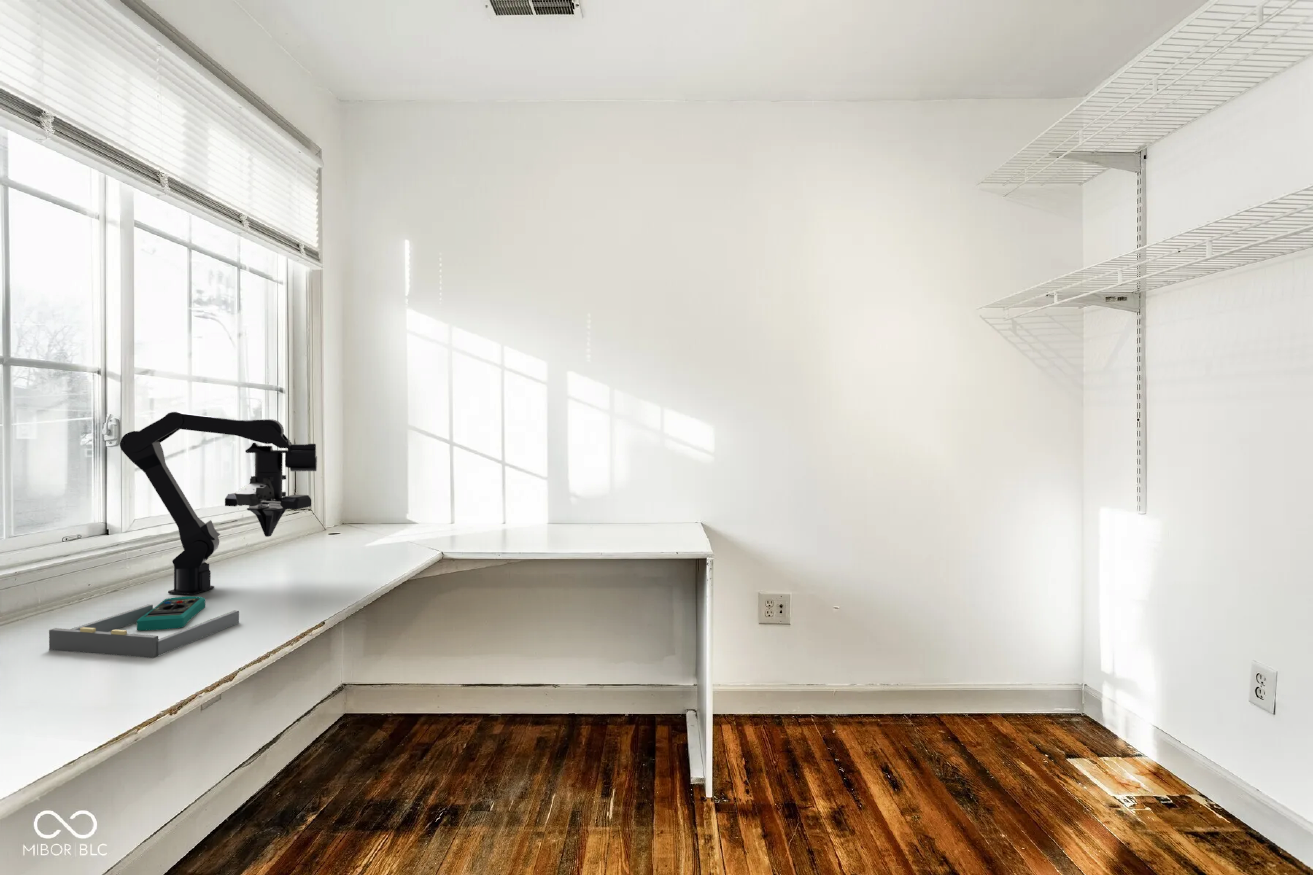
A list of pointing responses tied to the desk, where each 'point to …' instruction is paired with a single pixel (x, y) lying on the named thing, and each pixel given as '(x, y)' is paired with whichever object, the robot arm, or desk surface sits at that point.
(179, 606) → the digital multimeter
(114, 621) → the frame
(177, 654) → the desk surface
